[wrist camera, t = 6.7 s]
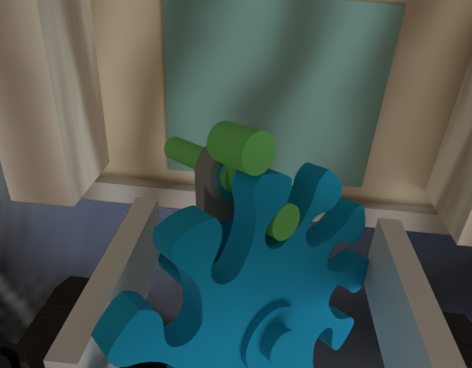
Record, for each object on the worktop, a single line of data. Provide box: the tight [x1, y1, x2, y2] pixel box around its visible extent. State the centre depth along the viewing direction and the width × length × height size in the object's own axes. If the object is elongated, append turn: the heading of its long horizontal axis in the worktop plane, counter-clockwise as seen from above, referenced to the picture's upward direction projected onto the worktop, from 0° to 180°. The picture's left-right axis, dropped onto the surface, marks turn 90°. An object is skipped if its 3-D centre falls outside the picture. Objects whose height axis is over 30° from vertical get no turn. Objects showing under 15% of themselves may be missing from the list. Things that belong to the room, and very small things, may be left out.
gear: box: [91, 120, 369, 368], centre depth 13 cm, size 11×6×10 cm
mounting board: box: [0, 0, 472, 246], centre depth 25 cm, size 32×16×7 cm, turn 87°
